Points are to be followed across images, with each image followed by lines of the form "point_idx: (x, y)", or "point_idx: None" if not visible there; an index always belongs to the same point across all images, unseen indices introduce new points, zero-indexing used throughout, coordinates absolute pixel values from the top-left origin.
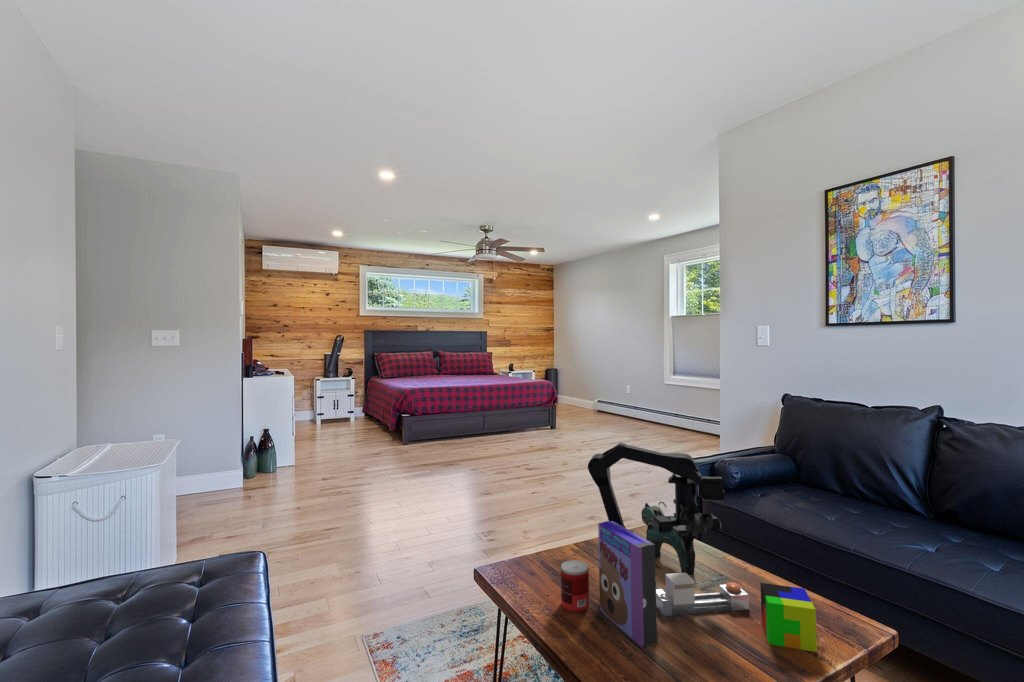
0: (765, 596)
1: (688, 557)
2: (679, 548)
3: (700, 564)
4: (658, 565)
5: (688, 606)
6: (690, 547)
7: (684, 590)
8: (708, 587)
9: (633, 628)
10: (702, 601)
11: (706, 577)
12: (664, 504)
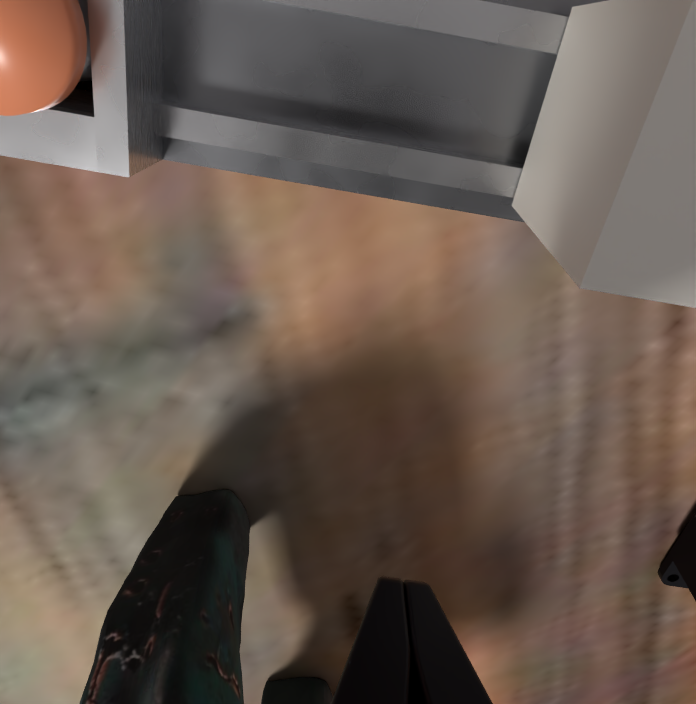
0: None
1: (191, 597)
2: (225, 701)
3: (68, 566)
4: (341, 620)
5: None
6: (361, 653)
7: None
8: (170, 329)
9: None
10: (457, 24)
11: (110, 440)
12: None
